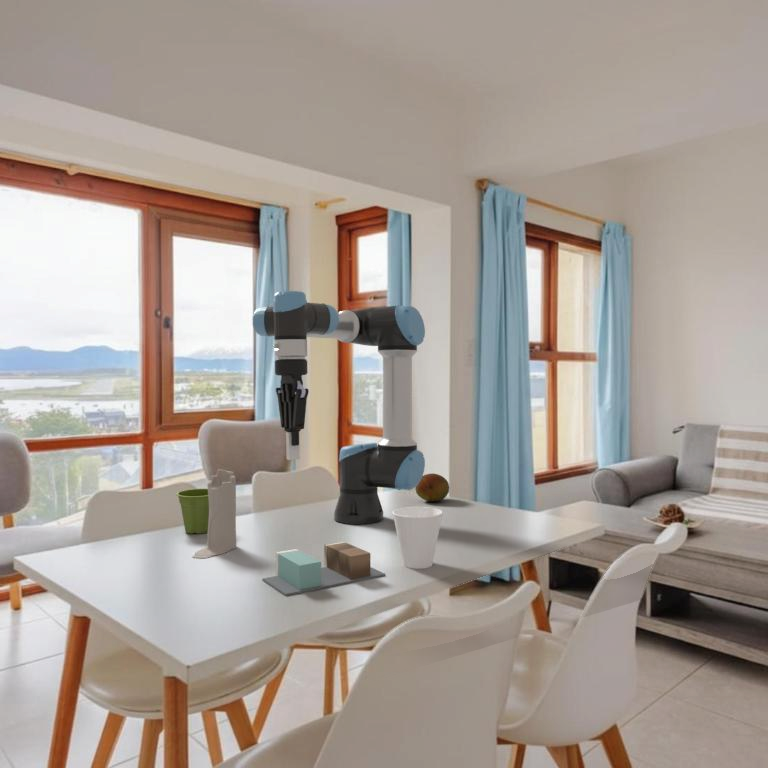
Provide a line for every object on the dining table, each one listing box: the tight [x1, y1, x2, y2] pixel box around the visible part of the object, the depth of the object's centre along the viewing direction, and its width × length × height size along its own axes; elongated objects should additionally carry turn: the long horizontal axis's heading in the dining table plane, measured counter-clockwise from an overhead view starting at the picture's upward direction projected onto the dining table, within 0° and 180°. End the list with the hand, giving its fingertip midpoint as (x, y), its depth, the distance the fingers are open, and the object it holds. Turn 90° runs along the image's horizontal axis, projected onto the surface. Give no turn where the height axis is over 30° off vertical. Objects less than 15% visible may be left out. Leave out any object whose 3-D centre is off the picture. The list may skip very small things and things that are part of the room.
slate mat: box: [261, 566, 386, 597], centre depth 143 cm, size 12×24×1 cm, turn 123°
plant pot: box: [176, 488, 209, 535], centre depth 187 cm, size 12×12×11 cm
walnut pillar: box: [323, 541, 371, 580], centre depth 147 cm, size 5×5×12 cm
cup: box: [392, 506, 444, 570], centre depth 153 cm, size 12×12×12 cm
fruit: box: [414, 473, 450, 503], centre depth 229 cm, size 12×12×10 cm
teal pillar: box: [275, 548, 322, 590], centre depth 141 cm, size 5×5×12 cm
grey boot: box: [192, 468, 237, 559], centre depth 166 cm, size 7×14×20 cm, turn 160°
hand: (293, 459), depth 153 cm, fingers closed
